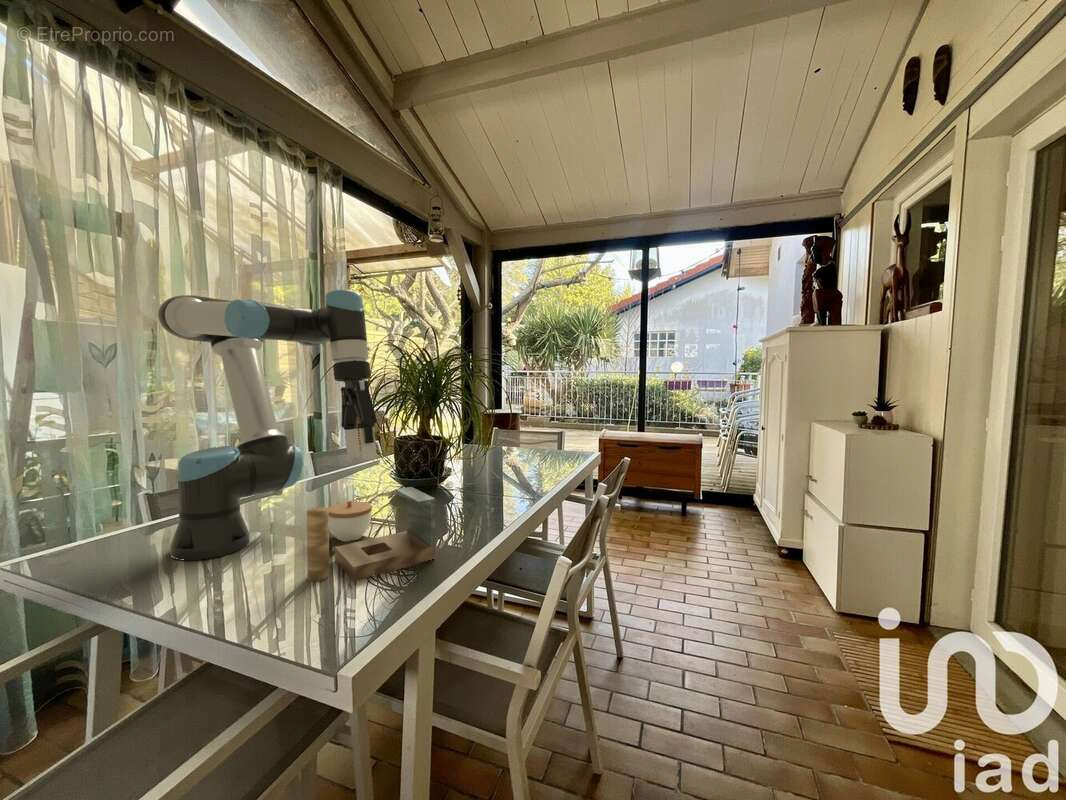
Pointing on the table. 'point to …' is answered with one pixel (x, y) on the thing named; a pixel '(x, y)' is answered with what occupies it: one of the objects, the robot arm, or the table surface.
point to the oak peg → (318, 543)
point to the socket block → (394, 542)
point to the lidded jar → (349, 519)
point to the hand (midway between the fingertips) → (361, 458)
